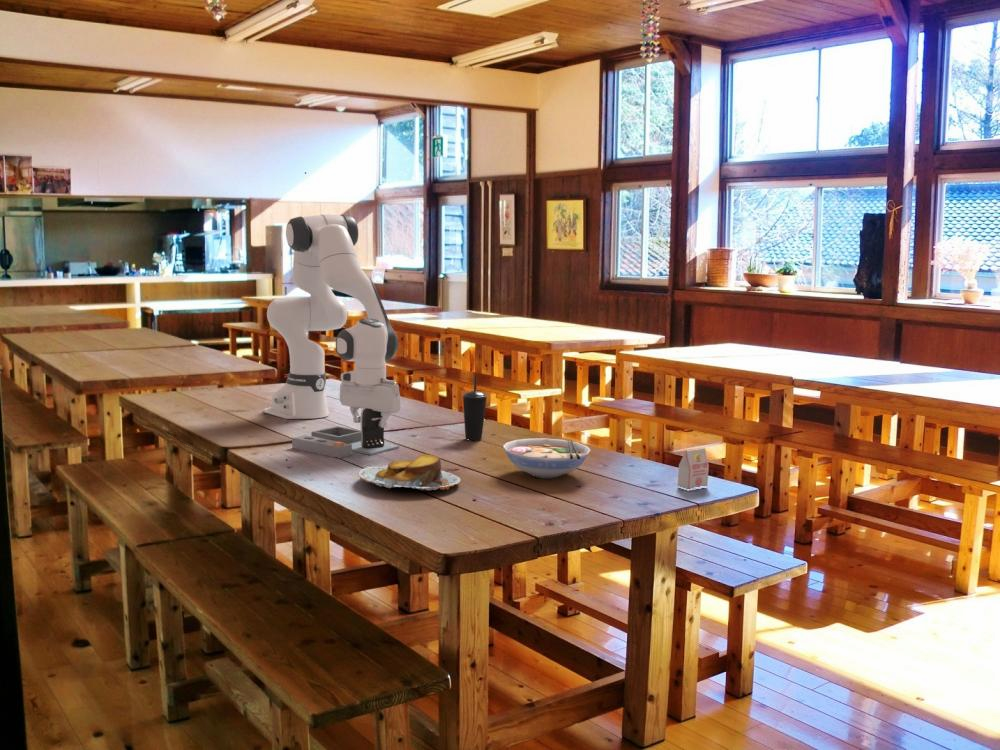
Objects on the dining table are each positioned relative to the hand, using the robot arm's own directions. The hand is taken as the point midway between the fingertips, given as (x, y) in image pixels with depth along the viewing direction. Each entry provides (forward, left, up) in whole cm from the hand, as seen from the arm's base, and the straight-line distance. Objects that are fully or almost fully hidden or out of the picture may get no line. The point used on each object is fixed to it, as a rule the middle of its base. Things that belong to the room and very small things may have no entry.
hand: (369, 424), depth 275 cm
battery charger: (+2, 0, -6) cm, 7 cm away
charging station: (-9, -4, -7) cm, 12 cm away
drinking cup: (+15, +30, -7) cm, 34 cm away
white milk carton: (+89, +22, -7) cm, 92 cm away
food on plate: (+33, -22, -7) cm, 41 cm away
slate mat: (0, 0, -7) cm, 7 cm away
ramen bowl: (+54, +8, -7) cm, 55 cm away
